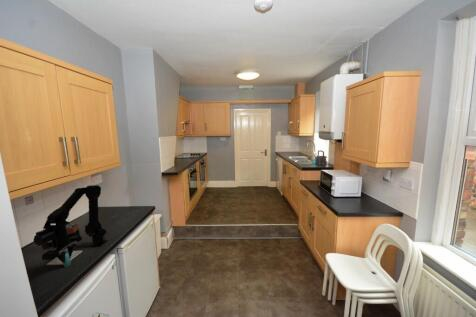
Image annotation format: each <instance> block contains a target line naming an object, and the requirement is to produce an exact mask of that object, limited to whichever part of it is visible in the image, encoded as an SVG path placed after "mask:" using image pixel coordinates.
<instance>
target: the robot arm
mask: <svg viewBox="0 0 476 317" xmlns="http://www.w3.org/2000/svg"><path fill="white" fill-rule="evenodd" d="M101 192H102V187H101V186H100V185H97V184H96V185H95V184H92V185H87V186H86V187H77V188H75V189H74V191H73V192H72V193H71V194H70V196H69V197H68V198H66V200H65V201H64V202H63V204H62V205H61V206H60V207H58V208H57V209H55V210H53V211H52V212H50V213H49V214H48V215H47V217H46V221H45V223H44V225H43V227H42V228H43V229H42V230H39V231H36V232H35V235H34V236H33V242H34V244H35V245H36V246H39V247H41V248H42V250H44V251H45V250H47V251H46V252H44V253H42V255H41V260H42V261H52V260H54V259H55V258H56V257H57V258H58V259H59V260H60V261H61V262H62V263H65V252H63V249H64V248H68V253H69V257H70V258H71V255H72V252H73V251H75V247H76V246H77V243H79V242H81V241H83V238H82V235H81V234H80V235H79V236H72V237H70V238H68V237H69V236H70V234H68V233H67V228H68V227H67V226H66V225H69V224H70V221H67V219H68V217H69V215H70V211H71V210H72V209H73V208H74V206H75V205H76V204H77V203H78V202H79V201H80V199H81V198H82V197H83V196H84V195H85V196H86V198H87V200H88V223H87V224H86V225H84V232H85V235H87V236H88V237H91V241H92V245H90V246H91V248H92V247H94V248H95V247H101V246H103V245H104V244H105V243H106V242H108V239H106V238H105V235H106V234H107V229H104V228H103V227H102V224H101V222H100V221H99V197H100V195H101ZM74 242H76V243H74ZM51 248H52V249H53V250H52V249H51ZM50 249H51V250H50Z"/></svg>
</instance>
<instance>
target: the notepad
mask: <svg viewBox="0 0 476 317" xmlns="http://www.w3.org/2000/svg"><path fill="white" fill-rule="evenodd" d="M81 253H83V250H73V252H72V255H71V258H70V261H72V260H73V259H75V257H77V256H79V255H80V254H81ZM60 265H63V263H62V262H61V261H60V260H59V259H58V258H57V257H56V258H54V259H52V260H50V261H49V262H48V263H46V266H60ZM63 266H64V265H63Z"/></svg>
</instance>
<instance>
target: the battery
mask: <svg viewBox="0 0 476 317" xmlns="http://www.w3.org/2000/svg"><path fill="white" fill-rule="evenodd" d="M66 228H67V233H68V234H70V236H69V237H68V238H70V237H72V236H79V235H80V236H81V233H80V228H79V224H78V223H77V224H75V223H72V224H71V225H69V227H66Z"/></svg>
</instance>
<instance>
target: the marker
mask: <svg viewBox="0 0 476 317" xmlns="http://www.w3.org/2000/svg"><path fill="white" fill-rule="evenodd" d="M63 252H65V263H63V267H64V268H68V267H71V266H72V263H71V260H70V257H69V253H68V248H64V249H63Z"/></svg>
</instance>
